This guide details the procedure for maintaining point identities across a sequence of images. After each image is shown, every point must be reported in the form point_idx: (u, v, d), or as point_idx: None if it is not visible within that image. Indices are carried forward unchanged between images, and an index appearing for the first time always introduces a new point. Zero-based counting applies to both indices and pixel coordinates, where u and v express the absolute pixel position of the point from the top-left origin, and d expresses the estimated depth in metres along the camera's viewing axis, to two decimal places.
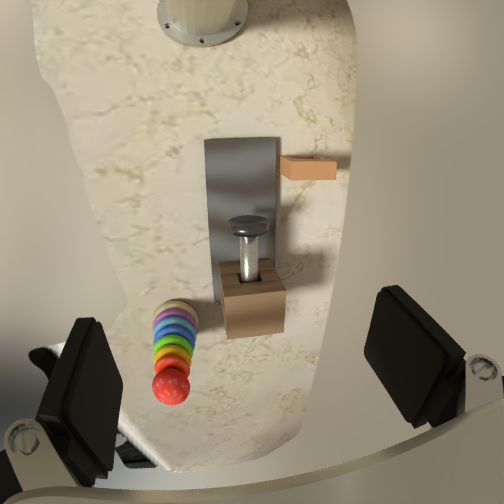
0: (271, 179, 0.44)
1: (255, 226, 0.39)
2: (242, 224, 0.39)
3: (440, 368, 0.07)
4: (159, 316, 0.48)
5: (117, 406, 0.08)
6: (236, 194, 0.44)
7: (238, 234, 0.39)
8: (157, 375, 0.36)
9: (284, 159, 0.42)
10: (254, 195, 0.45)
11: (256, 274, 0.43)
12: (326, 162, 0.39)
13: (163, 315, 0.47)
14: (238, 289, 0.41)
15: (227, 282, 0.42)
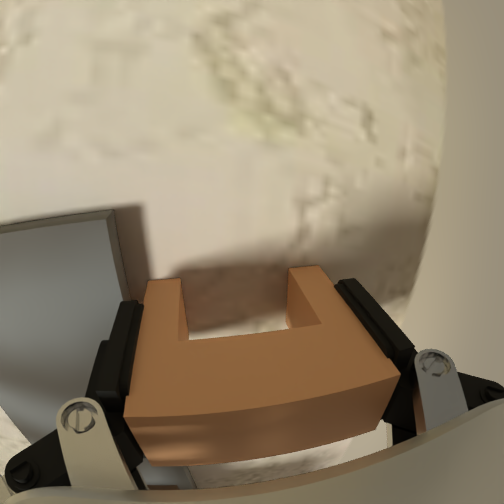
0: None
1: None
2: None
3: None
4: None
5: None
6: (43, 394, 0.11)
7: None
8: None
9: (140, 329, 0.09)
10: None
11: None
12: (344, 392, 0.06)
13: None
14: None
15: None
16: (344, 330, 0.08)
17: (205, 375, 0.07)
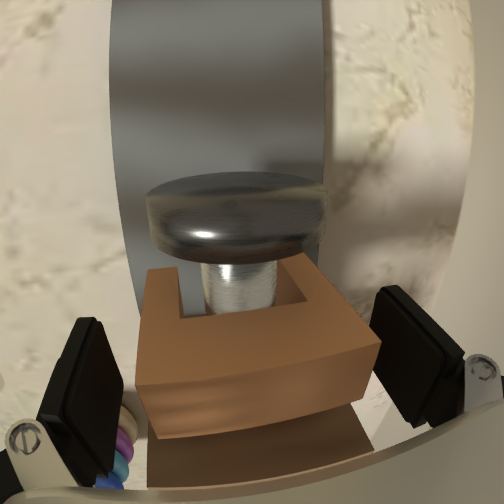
0: (312, 74, 0.13)
1: (268, 204, 0.07)
2: (205, 198, 0.08)
3: (439, 368, 0.07)
4: None
5: (118, 406, 0.08)
6: (202, 114, 0.13)
7: (180, 249, 0.07)
8: None
9: None
10: (259, 118, 0.13)
11: None
12: (331, 357, 0.07)
13: None
14: (202, 450, 0.09)
15: None
16: (329, 306, 0.09)
17: (206, 346, 0.08)
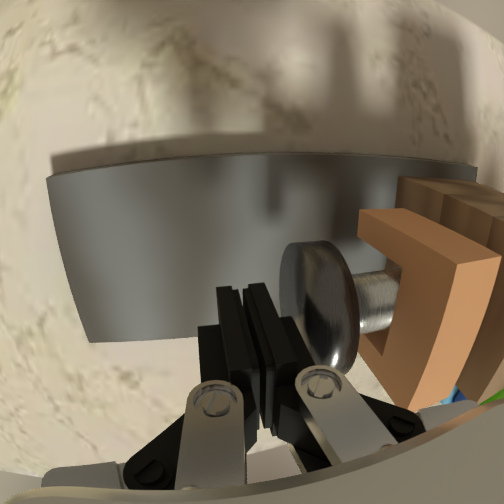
0: (162, 174, 0.14)
1: (318, 339, 0.09)
2: None
3: (267, 374, 0.07)
4: None
5: None
6: (212, 271, 0.16)
7: None
8: None
9: None
10: (215, 222, 0.15)
11: None
12: (447, 310, 0.08)
13: None
14: (473, 356, 0.10)
15: None
16: (412, 259, 0.09)
17: (402, 364, 0.10)
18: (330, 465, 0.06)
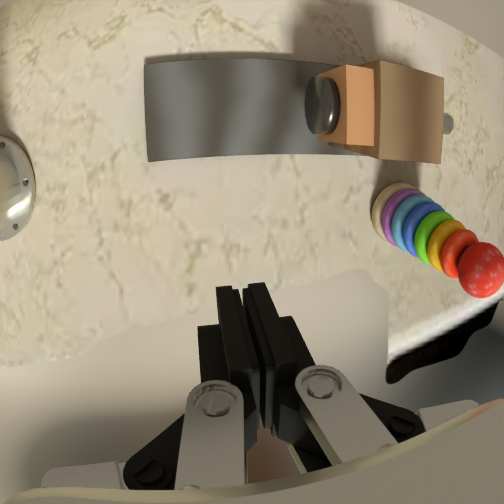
0: (206, 65, 0.26)
1: (324, 98, 0.22)
2: (319, 115, 0.23)
3: (267, 374, 0.07)
4: (388, 237, 0.34)
5: None
6: (227, 114, 0.28)
7: (334, 124, 0.23)
8: (463, 285, 0.23)
9: (330, 141, 0.25)
10: (230, 88, 0.27)
11: None
12: (347, 83, 0.20)
13: (388, 233, 0.34)
14: None
15: None
16: (335, 76, 0.21)
17: (340, 120, 0.22)
18: (330, 465, 0.06)
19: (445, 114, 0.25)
